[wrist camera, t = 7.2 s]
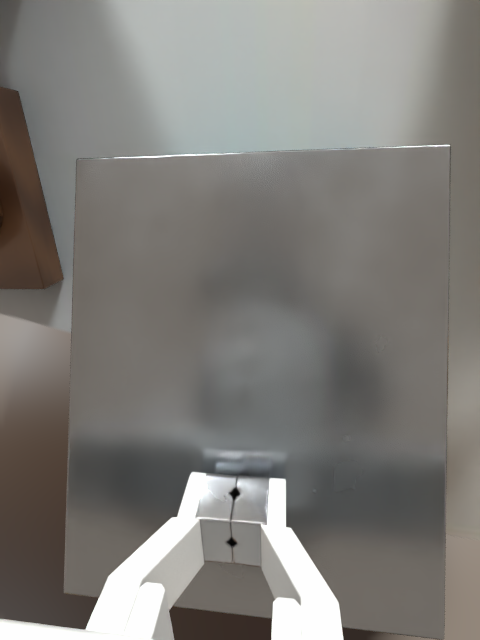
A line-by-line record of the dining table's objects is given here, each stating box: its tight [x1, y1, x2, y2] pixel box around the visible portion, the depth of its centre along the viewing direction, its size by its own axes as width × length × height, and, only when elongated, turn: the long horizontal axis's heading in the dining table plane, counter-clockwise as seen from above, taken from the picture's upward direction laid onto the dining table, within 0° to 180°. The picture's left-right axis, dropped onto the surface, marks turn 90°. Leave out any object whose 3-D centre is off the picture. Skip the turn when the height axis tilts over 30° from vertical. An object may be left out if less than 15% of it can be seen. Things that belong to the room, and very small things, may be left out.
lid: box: [64, 144, 451, 640], centre depth 12 cm, size 15×13×1 cm
